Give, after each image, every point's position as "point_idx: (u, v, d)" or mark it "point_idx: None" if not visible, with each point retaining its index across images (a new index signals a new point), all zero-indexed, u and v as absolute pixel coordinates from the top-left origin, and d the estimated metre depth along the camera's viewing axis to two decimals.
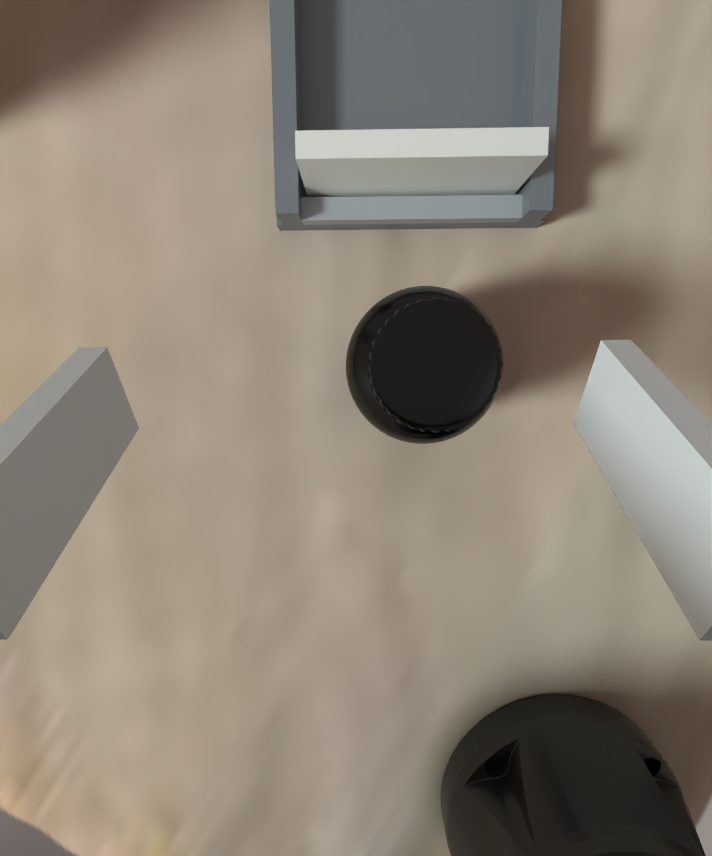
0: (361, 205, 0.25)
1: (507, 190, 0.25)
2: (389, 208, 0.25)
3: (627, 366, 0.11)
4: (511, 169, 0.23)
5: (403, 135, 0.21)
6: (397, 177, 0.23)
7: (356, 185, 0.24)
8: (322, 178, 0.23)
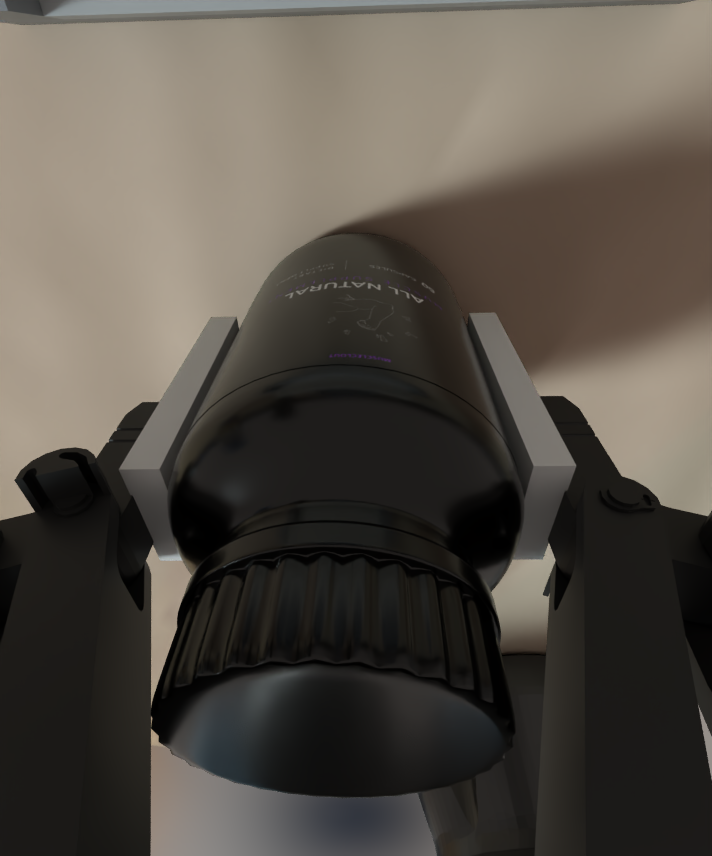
0: None
1: None
2: None
3: (481, 333, 0.12)
4: None
5: None
6: None
7: None
8: None
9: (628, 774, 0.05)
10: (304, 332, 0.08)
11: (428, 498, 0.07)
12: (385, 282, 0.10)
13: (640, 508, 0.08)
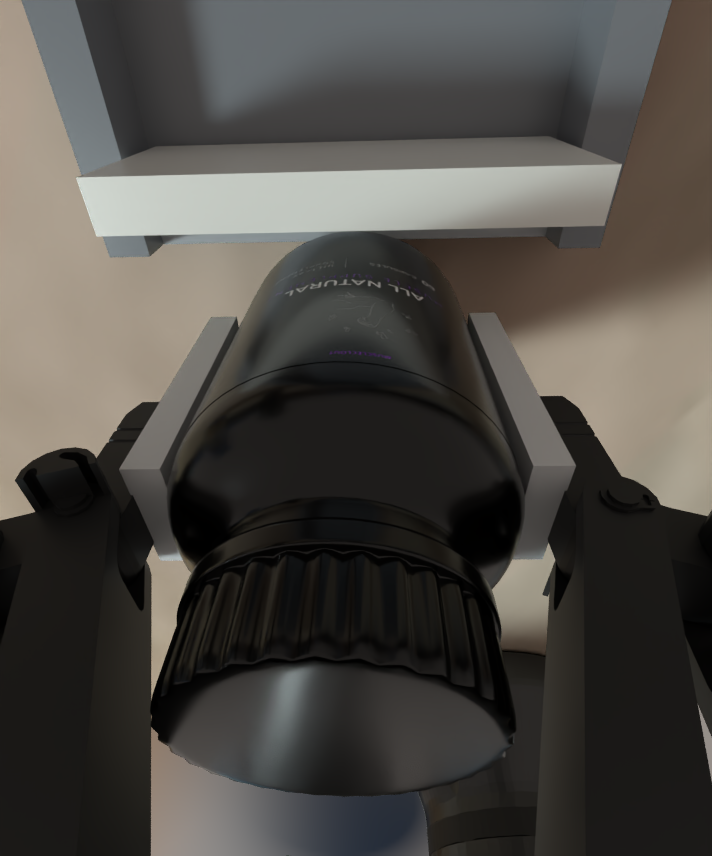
0: None
1: None
2: None
3: (481, 333, 0.12)
4: None
5: (307, 185, 0.10)
6: None
7: None
8: None
9: (628, 774, 0.05)
10: (304, 328, 0.08)
11: (429, 495, 0.07)
12: (386, 279, 0.10)
13: (640, 508, 0.08)
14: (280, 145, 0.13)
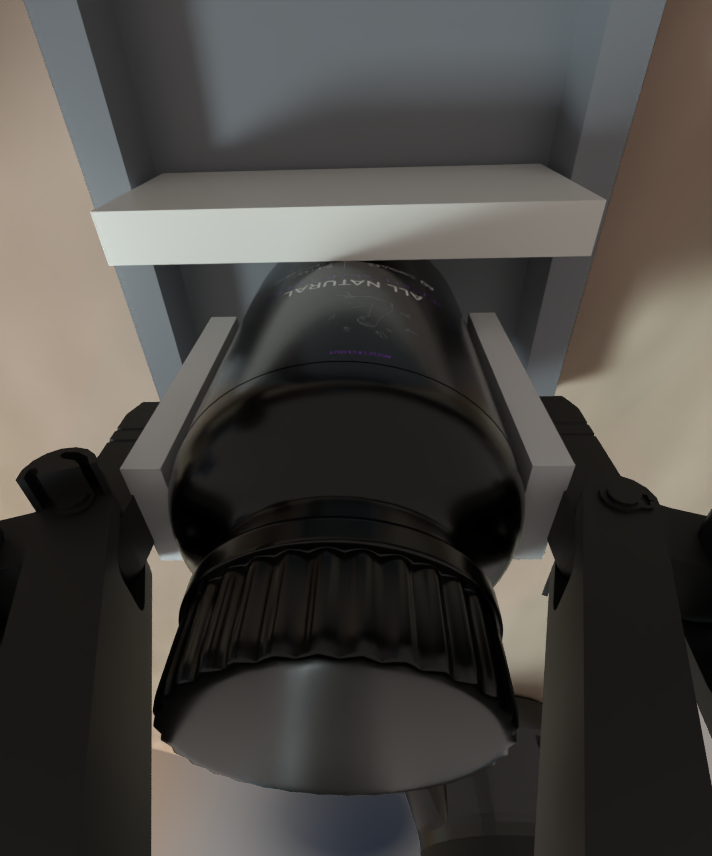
0: None
1: None
2: None
3: (480, 333, 0.12)
4: None
5: (309, 219, 0.10)
6: None
7: None
8: None
9: (627, 773, 0.05)
10: (304, 329, 0.08)
11: (429, 494, 0.07)
12: (384, 280, 0.10)
13: (639, 507, 0.08)
14: (282, 173, 0.14)
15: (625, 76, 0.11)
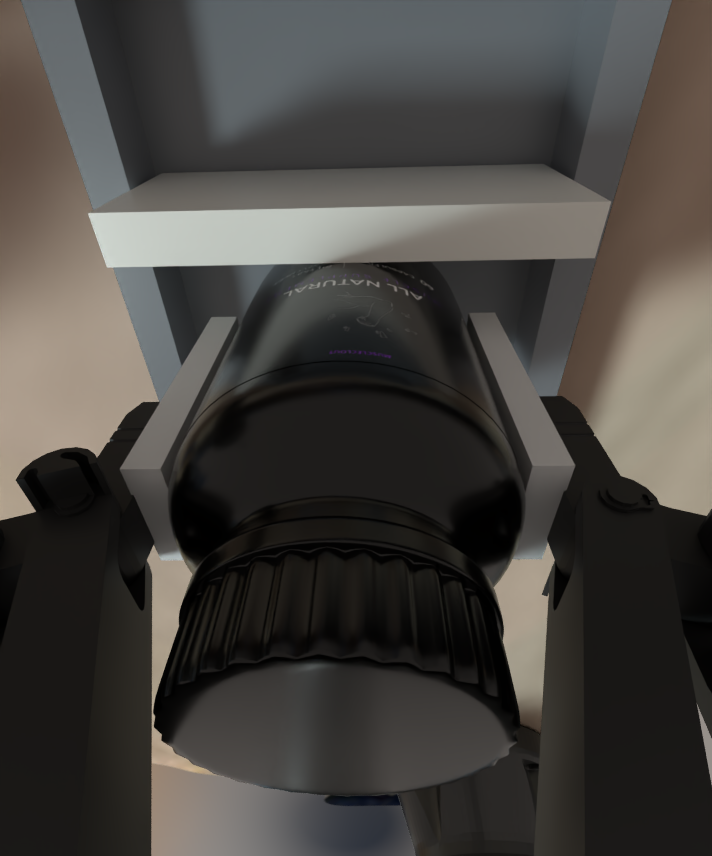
0: None
1: None
2: None
3: (480, 333, 0.12)
4: None
5: (310, 220, 0.10)
6: None
7: None
8: None
9: (627, 774, 0.05)
10: (304, 329, 0.08)
11: (429, 494, 0.07)
12: (384, 279, 0.10)
13: (639, 508, 0.08)
14: (283, 173, 0.14)
15: (571, 293, 0.14)
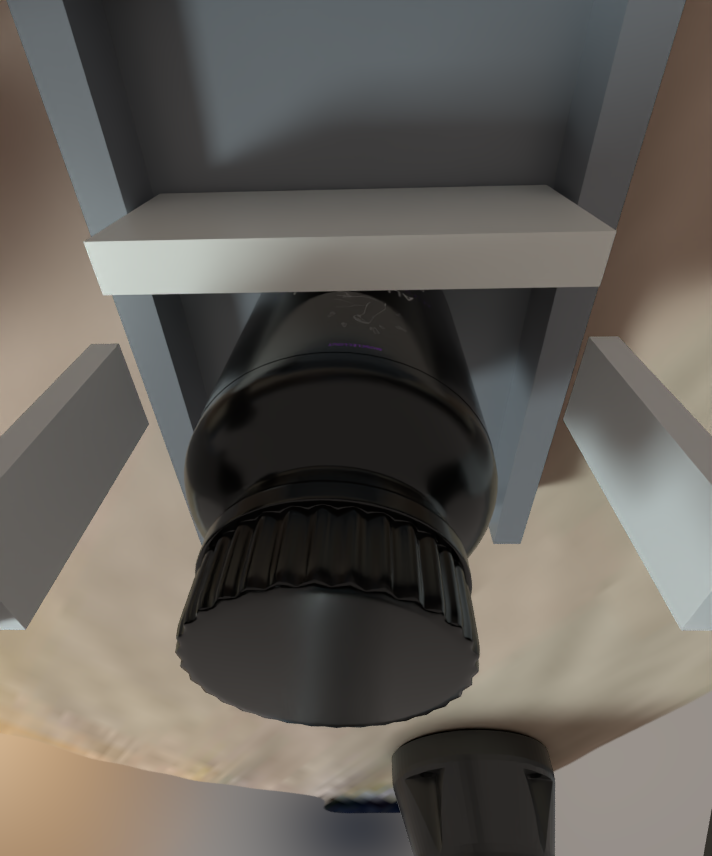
0: None
1: None
2: None
3: (614, 362, 0.11)
4: None
5: (309, 249, 0.10)
6: None
7: None
8: None
9: None
10: (307, 324, 0.10)
11: (411, 467, 0.08)
12: None
13: None
14: (282, 194, 0.13)
15: (577, 306, 0.14)
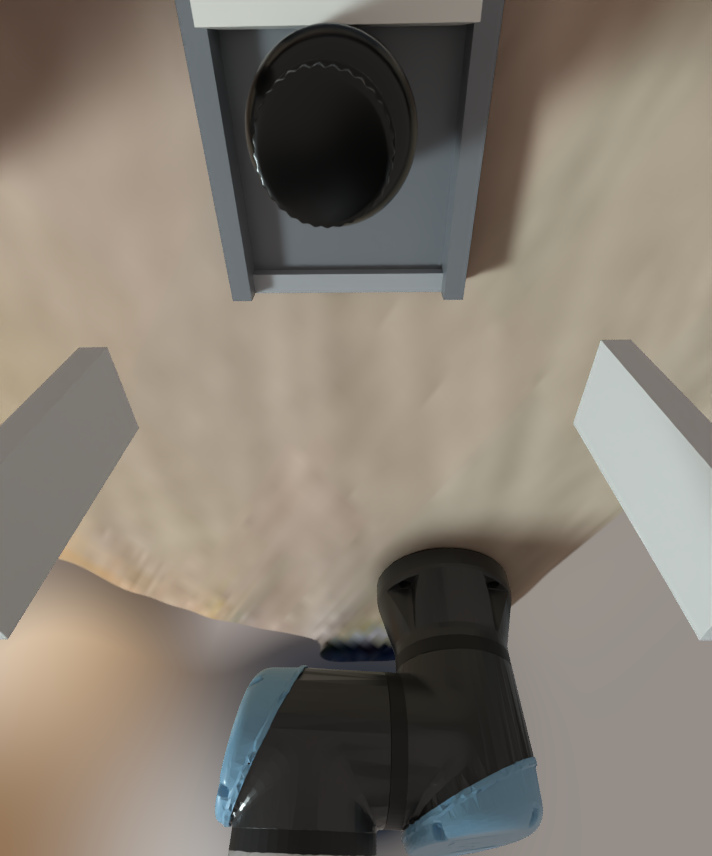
0: (304, 281, 0.30)
1: None
2: (329, 284, 0.30)
3: (627, 366, 0.11)
4: (446, 23, 0.20)
5: None
6: None
7: None
8: None
9: None
10: None
11: (365, 74, 0.16)
12: None
13: None
14: None
15: (484, 74, 0.22)
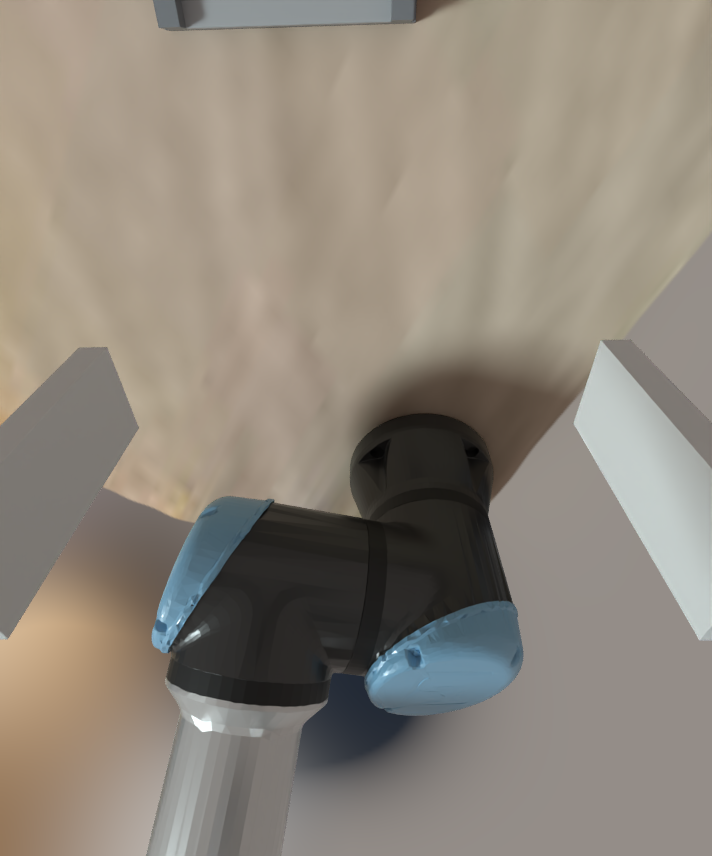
0: (239, 9, 0.27)
1: None
2: (266, 12, 0.27)
3: (627, 366, 0.11)
4: None
5: None
6: None
7: None
8: None
9: None
10: None
11: None
12: None
13: None
14: None
15: None
